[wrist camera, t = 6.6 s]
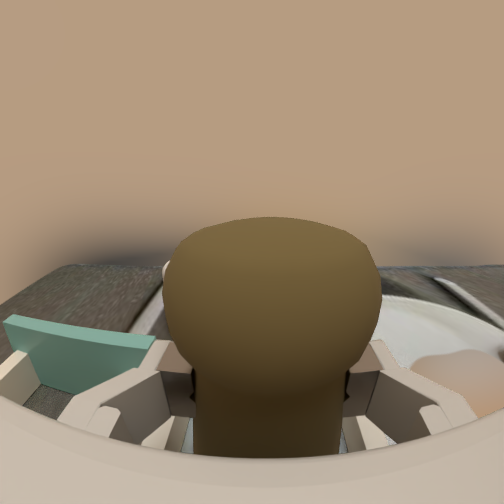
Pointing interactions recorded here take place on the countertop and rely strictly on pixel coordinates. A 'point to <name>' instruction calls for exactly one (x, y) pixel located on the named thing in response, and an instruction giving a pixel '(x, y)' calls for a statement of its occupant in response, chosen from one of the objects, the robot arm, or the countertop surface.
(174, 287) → the cork
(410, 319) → the countertop surface
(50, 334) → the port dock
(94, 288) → the countertop surface
